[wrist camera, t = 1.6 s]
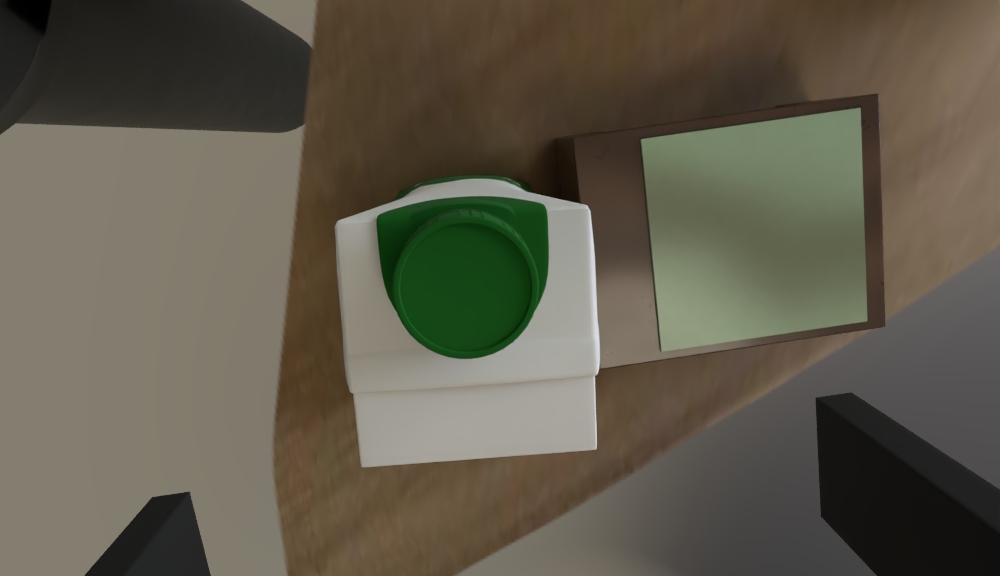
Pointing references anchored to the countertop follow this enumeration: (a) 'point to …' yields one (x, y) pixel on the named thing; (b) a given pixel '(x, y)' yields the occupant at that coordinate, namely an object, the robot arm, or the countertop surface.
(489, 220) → the milk carton
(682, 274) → the brown wooden stand
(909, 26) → the countertop surface
